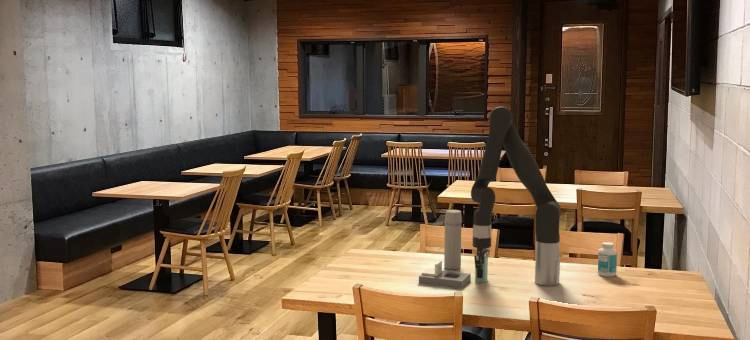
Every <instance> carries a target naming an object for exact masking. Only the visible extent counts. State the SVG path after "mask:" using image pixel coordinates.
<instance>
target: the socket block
mask: <svg viewBox="0 0 750 340" xmlns="http://www.w3.org/2000/svg"><path fill="white" fill-rule="evenodd" d="M470 282H471V273H468V272H458V271H450V270H442V273H440V274H439V275H438V276H429V275H422V273H421V274H419V276H418V284H419V285H428V286H437V287H446V288H451V289H452V288H453V289H460V290H461V289H463V288H465V287H466V285H467V284H468V283H470Z"/></svg>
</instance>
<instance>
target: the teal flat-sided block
mask: <svg viewBox="0 0 750 340" xmlns="http://www.w3.org/2000/svg"><path fill="white" fill-rule="evenodd" d="M482 261H483V260H481V262H482ZM488 261H489V255H488V256H486V257H485V260H484V264H483V278H477V269H476V268H475V267H474V268H475V271H474V282H476V281H477V282H478V283H486V282H485V281H486V280H487V281H488V267H489V266H488V265H489V262H488ZM478 266H480V264H478Z"/></svg>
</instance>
